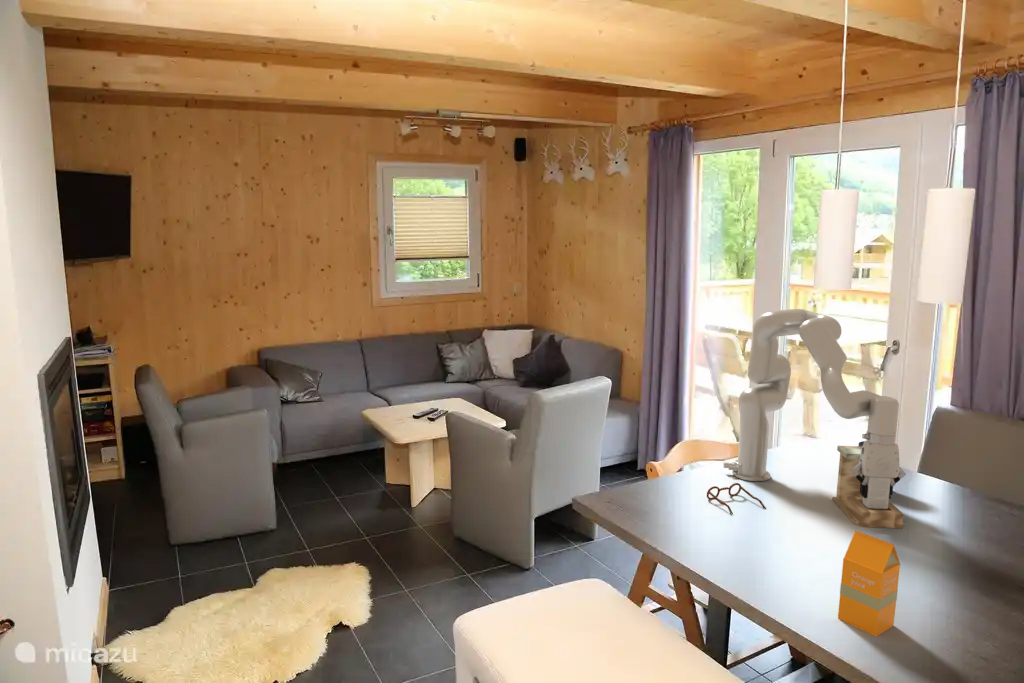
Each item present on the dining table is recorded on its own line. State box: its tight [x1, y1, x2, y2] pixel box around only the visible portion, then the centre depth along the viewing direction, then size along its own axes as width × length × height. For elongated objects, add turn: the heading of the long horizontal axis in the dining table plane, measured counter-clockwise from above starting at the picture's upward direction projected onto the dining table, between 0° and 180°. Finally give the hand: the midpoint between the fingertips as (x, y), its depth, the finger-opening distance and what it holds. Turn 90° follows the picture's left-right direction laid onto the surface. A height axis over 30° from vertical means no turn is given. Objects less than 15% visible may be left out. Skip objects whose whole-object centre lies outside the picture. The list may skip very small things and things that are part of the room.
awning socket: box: [831, 445, 905, 529], centre depth 220 cm, size 14×21×18 cm
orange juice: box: [837, 530, 901, 637], centre depth 160 cm, size 8×9×20 cm
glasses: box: [706, 482, 767, 515], centre depth 227 cm, size 13×13×5 cm
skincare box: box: [862, 477, 891, 509], centre depth 215 cm, size 6×4×12 cm
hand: (875, 496), depth 216 cm, fingers closed on skincare box, 6 cm apart
